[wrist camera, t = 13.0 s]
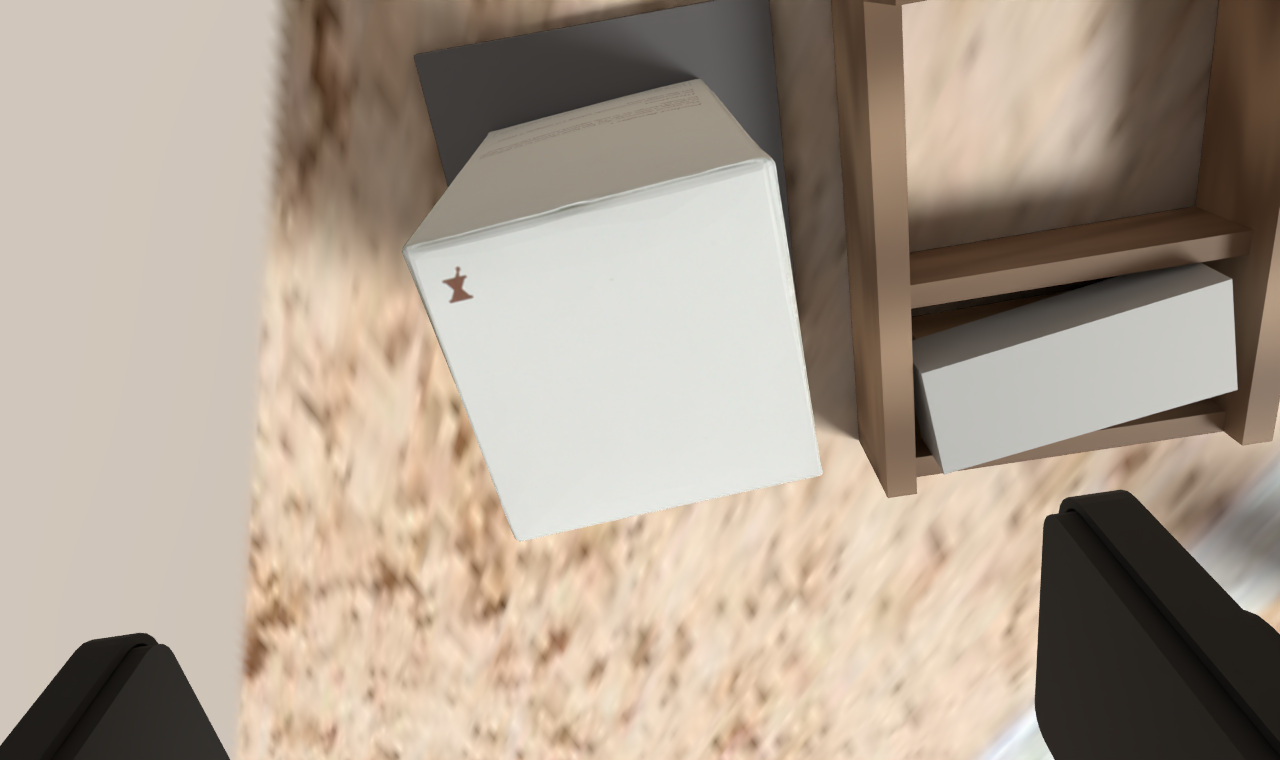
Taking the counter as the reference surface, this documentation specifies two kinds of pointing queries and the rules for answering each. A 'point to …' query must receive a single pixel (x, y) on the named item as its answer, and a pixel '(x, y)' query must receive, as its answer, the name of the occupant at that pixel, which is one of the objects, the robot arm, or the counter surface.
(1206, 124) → the walnut rack
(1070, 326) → the upper offcut
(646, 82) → the rubber mat
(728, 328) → the supplement box
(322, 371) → the counter surface
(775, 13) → the counter surface
